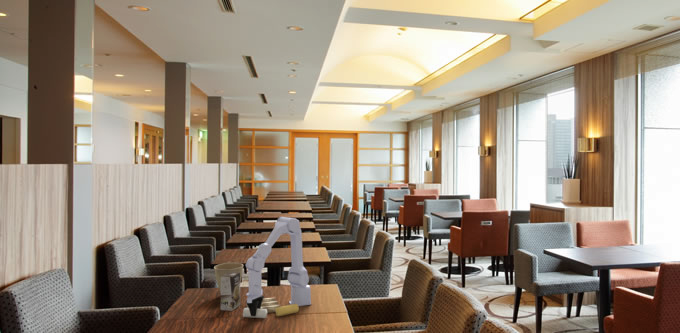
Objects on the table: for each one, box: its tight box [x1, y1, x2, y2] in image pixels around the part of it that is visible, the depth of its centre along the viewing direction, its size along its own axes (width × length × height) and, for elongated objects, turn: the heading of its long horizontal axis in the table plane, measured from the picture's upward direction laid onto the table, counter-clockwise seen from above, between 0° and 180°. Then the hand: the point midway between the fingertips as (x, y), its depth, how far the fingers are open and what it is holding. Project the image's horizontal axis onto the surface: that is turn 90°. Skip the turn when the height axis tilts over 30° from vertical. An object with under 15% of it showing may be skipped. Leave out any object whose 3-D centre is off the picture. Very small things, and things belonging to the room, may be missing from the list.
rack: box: [245, 297, 282, 314], centre depth 216 cm, size 14×14×3 cm
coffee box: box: [220, 272, 241, 312], centre depth 217 cm, size 9×6×16 cm
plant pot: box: [213, 262, 244, 294], centre depth 236 cm, size 15×15×16 cm
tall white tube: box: [242, 307, 268, 319], centre depth 204 cm, size 10×4×4 cm, turn 79°
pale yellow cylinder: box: [274, 304, 300, 317], centre depth 208 cm, size 10×4×4 cm, turn 124°
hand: (255, 314), depth 204 cm, fingers closed on tall white tube, 4 cm apart
